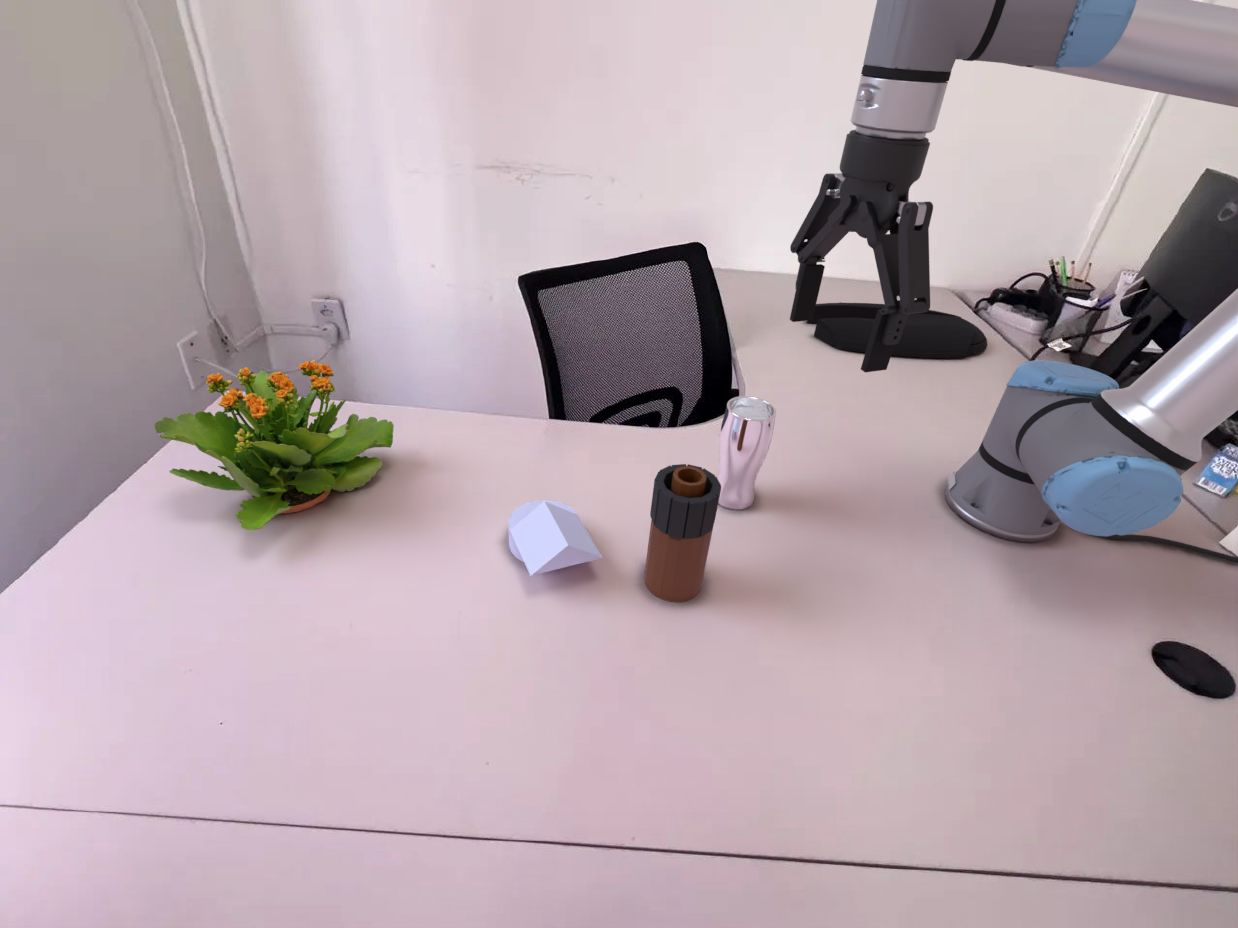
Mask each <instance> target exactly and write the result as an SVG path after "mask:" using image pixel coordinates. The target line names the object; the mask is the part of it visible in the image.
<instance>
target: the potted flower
mask: <svg viewBox="0 0 1238 928" xmlns="http://www.w3.org/2000/svg"><path fill="white" fill-rule="evenodd" d="M297 369H298V370H300V371H301V370H302V371H301V372H300V373H301V374H302V376H307V377H309V380H310V384H311V385H309V393H308V394H307V395H306V397H305V396H303V395H302V396H300V395H299V394H298V389H297V387H296V386H295V382H292V380H291V379H290V378H289V375H288V374H284V372H283V371H272V372H270V373H267V372H266V371H265V370H263V369H262V370H260V371H258V373H252V371H251V370H250V369H249V368H248V367H244V368H240V369H239V371H238V372H239V373H236V377H235V378H236V379H237V380H238V381H240V382H239V385H240V386H244V388H245V389H244V392H243V391H240V388H238V387H237V388H236V387H235V388H233V387H232V388H230V387H229V386H230V385H232V384H233V380H231V379H229V380H226V379H225V378H224V375H222V374H221V372H217V373H216V374H215V373H211V374H210V375H207V379H206V380H205V383H206V385H207V387H208V388H207V391H208V393H211V394H214V393H218V394H221V395H222V397H221V400H220V401H219V402H218V403H217V404H218V406H219V407H222V408H223V411H220V410H219V411H216V412H215V414H213V413H212V412H211V411H207V412H206V411H204V410H203V411H202V410H201V411H197V412H195V414H194V415H193V413H190V412H187V413H180V414H179V415H177V416H176V417H175V418H176V419H174V418H172V417H167V416H163V417H161V420H157V421H155V422H153V423H154V424H153V426H154V429H155V431H156V433H157V434H158V433H159V434H158V436H159V438H160V439H164V440H170V441H176V442H181V443H185V444H189V445H191V446H195V447H196V449H197V450H199V451H200V452H201V453H203V454H206V455H208V456H210V457H212V458H214V459H216V460H217V461H220V462H221V463H222V466H221V465H217V467H218V468H220V469H221V470H224V472H228V474H229V476H227V475H226V474H220V475H219V473H218V472H216V471H211V472H208V471H205V470H202V469H200V470H195V469H190V468H189V469H188V470H187V469H184V468H178V469H177V468H171V469H170V470H169V471H168V472H169V473H170V474H172V475H174V476H176V477H179V478H183V479H185V480H187V481H190V482H194V483H197V484H199V485H202V486H204V487H207V488H208V487H209V488H211V489H215V490H221V491H233V492H241V491H246V492H247V493H248V494H249V495H251V496H252V499H249V498H248V499H247V500H246V499H242V500H241V502H240V503H238V504H239V506H240V507H241V508H242V509H240V510H238V511H237V513H235V519H237V520H239V521H240V523H239V525H240V527H242V528H243V529H245V530H248V531H254V530H259V529H261V528H263V527H264V526H265V525H267V524H268V522H270V521H271V520H272V519H273V518H274V517H276V516H277V515H279V514H281V515H282V514H292V513H296V512H301V511H305V510H307V509H310V508H313V507H314V506H316V505H317V504H319V503H322V502H324V501H325V500H326V499H327V498H328V497H329V495H330V494H331V491H332V490H333V491H337V492H340V493H344V492H345V491H347V492H350V491H353V490H355V489H356V488H361V487H363V486H365V485H366V483H368V482H371V481H372V478H373V477H375V476H376V474H377V472H378V471H379V470H380V469H381V468H382V466H383V462H382V460H381V459H378V457H375V456H372V457H368V456H367V455H364V456H360V455H361V454H362V453H365V451H367V450H369V449H374V448H392V445H393V442H394V427H395V425H394V423H393V421H391V420H389V421H388V419H380V420H378V418H376V417H375V416H369V417H367V418H360V417H359V415H358V414H356V413H351V414H350V415H348V418H347V421H346V423H344V424H342V425H340V426H339V427H336V428H334V429H332V428H333V426H334V425H335V424H336V422H337V420H338V417H337V416H338V413H339V411H340V410H341V409H342V407H343V406H344V404H345V403H346V402H347V401H346V400H347V399H344V400H340V401H339V403H338V404H337V405H336V404H335V401H332V403H330V405H329V402H330V401H331V398H330V395H331V393H333V392H336V390H335V389H336V388H335V384H334V383H333V382H331V380H332V378H329V377H335V373H334V372H333V368H332V367H331V366H330V365H329V364H325V363H320V364H319V363H318V362H317V361H316V360H305V361H304V362H302V363H300V364H298V368H297ZM225 391H229V392H226V393H224V392H225ZM312 391H313V392H312ZM243 393H245V395H244V394H243ZM317 397H318V400H319V401H320V404H319V405H320V406H319V410H318V411H316V412H315V411H312V412H311V409H312V407H313V404H314V402H315V400H316V398H317ZM324 405H325V407H324ZM323 409H324V411H323ZM235 412H236V413H235ZM229 413H231V415H232V416H230V415H229V416H228V414H229ZM310 416H311V417H313V418H314V419H313V422H310V424H309V417H310ZM238 417H239V419H240V420H241V421H242V422H240V421H239V419H238ZM315 417H316V418H315ZM246 420H247V421H246ZM249 424H250V425H249ZM331 429H332V430H331ZM161 433H162V435H161Z"/></svg>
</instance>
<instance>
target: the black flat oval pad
mask: <svg viewBox="0 0 1238 928" xmlns="http://www.w3.org/2000/svg"><path fill="white" fill-rule="evenodd" d="M883 308H885V303H873V302H825V303H816V306H815V311H814V315H813V319H812V320H808V321H806V324H807V325H808V324H810V325H811V324H812V325H815V329H814V333H813V337H814V338H816V339H817V340H820V341H821V342H823V343H825V344H827V345H829V346H831V347H832V348H836V349H839V350H845V351H852V352H857V353H859V352H860V353H865V352H866V349H867V346H868V342H869V339H870V335H871V332H872V328H873V325H874V322H875V318H876V315H877V311H878V309H883ZM987 347H988V339H987V337H986V335H985V334H984V332H983V330H981V329H980V328H979V326H977V325H976V324H974V323H973V322H970V321H968V320H967V319H965V318H962V316H959V315H955V314H952V313H948V312H943V311H939V310H931V309H929V310H928V311H927V312H923V313H913V314H909V315H908V317H907V320H906V324H905V327H904V330H903V333H902V336H901V339H900V341H899V342H898V344H894V348H893V351H892V354H891V356H895V357H896V356H897V357H911V358H937V359H940V358H942V359H943V358H944V359H955V358H966V357H967V356H970V355H977V354H978V355H979V354H981V353H983V352H985V351H986V350H987Z"/></svg>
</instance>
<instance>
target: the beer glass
mask: <svg viewBox="0 0 1238 928" xmlns="http://www.w3.org/2000/svg"><path fill="white" fill-rule="evenodd" d="M776 415H777V409H776V407H775V406H774V405H773V404H772V403H770V402H769V401H768V400H765V399H763V398H760V397H756V396H749V395H741V396H740V395H739V396H734V397H732V398H730V399H729V400H728V401H727V403H726V407H725V411H724V415H723V418H722V422H721V426H720V431H719V436H718V462H719V463H718V474H717V479H718V481H719V482H720V484H721V492H720V497H719V502H718V506H721V507H724V508H725V509H729V510H745V509H747V508H749V507H751V506H752V505H753V503H754V502H755V501H754V500H755V484H756V481H757V480H756V479H757V477H758V474H759V472H760V471H761V468H762V466H763V463H764V462H765V460H766V458H767V454H768V452H769V450H770V446H771V443H772V440H773V435H774V434H773V433H774V428H775V423H776V422H775V421H776Z"/></svg>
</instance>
